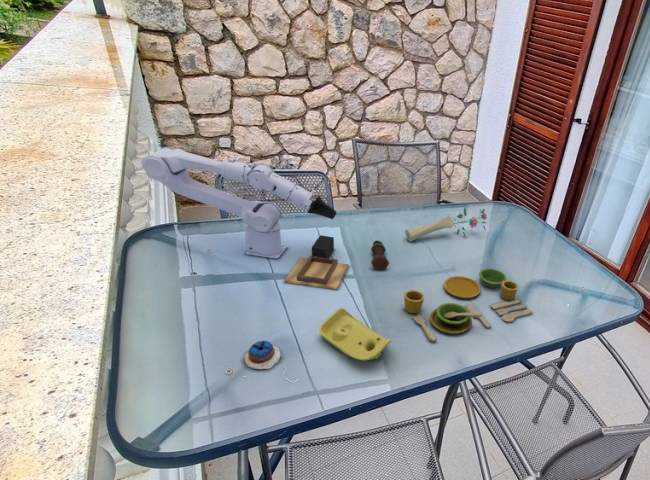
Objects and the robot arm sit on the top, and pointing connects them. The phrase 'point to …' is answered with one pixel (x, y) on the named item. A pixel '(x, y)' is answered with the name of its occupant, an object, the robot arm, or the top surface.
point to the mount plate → (317, 272)
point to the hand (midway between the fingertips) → (335, 215)
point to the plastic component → (352, 336)
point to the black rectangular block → (323, 246)
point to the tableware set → (456, 315)
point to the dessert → (262, 355)
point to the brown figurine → (379, 256)
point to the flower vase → (441, 226)
